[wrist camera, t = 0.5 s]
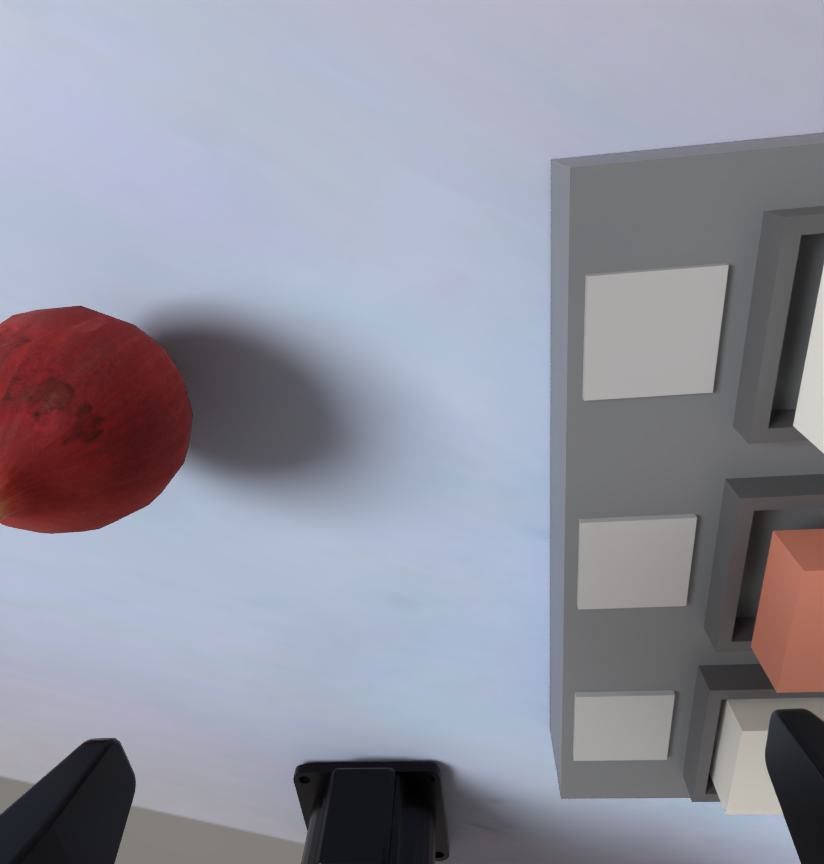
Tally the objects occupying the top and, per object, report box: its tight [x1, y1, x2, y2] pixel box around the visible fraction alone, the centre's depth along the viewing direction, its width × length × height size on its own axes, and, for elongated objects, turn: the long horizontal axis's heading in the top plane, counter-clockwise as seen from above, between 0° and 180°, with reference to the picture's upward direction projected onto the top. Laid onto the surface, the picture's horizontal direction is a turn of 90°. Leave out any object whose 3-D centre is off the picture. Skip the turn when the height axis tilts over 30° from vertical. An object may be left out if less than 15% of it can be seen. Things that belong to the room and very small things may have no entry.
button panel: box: [550, 133, 824, 802], centre depth 19 cm, size 22×12×4 cm, turn 5°
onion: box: [0, 306, 193, 534], centre depth 17 cm, size 6×6×8 cm
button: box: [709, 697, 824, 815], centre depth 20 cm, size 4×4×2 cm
